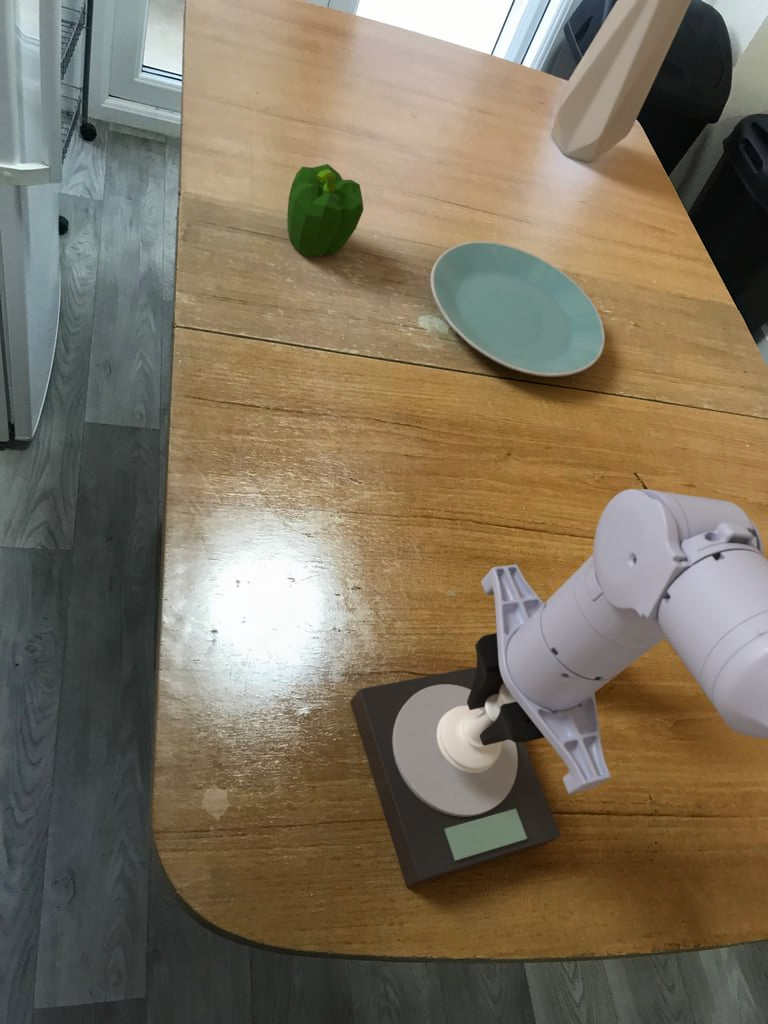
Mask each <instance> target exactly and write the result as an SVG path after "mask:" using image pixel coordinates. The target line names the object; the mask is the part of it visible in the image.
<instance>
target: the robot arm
mask: <svg viewBox="0 0 768 1024" xmlns="http://www.w3.org/2000/svg"><path fill="white" fill-rule="evenodd" d="M592 549H593V550H592V551H593V552H592V554H591V555H590V556H589V557H588V558H587V559H586V560H585V561H584V562H583V563H582V564H581V565H580V567H578V569H576V571H574V573H573V574H572V575H570V577H569V578H567V580H566V581H565V582H563V584H562V585H561V586H560V587H559V588H558V589H557V590H556V591H555V592H553V594H552V595H551V596H550V597H549V598H548V599H547V600H545V603H544V602H543V600H542V599H541V598H540V596H539V595H538V594H537V593H536V592H535V590H534V589H533V588H532V587H531V585H530V584H529V583H528V581H527V580H526V578H525V577H524V575H523V573H522V571H521V570H520V568H519V565H518V564H509V565H501V566H493V567H492V568H491V569H490V570H489V571H488V572H487V573H486V574H485V576H484V577H483V579H482V580H481V582H480V583H481V586H482V588H483V591H484V593H485V594H486V595H487V596H492V595H493V597H494V610H495V611H494V612H495V625H496V627H495V629H496V633H489V634H485V635H483V636H481V637H480V638H479V639H478V640H477V642H476V643H475V645H474V647H475V653H476V667H477V668H476V675H475V679H474V683H473V686H472V689H471V692H470V694H469V697H468V700H467V704H468V707H469V710H473V709H478V708H482V707H485V702H486V700H487V698H488V697H489V696H491V695H494V694H499V691H500V688H501V686H502V684H503V683H505V685H506V687H507V689H508V690H509V692H510V693H511V695H512V696H513V697H514V698H515V700H516V701H517V702H512V703H507V704H503V705H502V706H501V707H500V713H499V715H498V717H497V719H496V720H495V721H494V723H493V724H492V725H490V726H489V727H488V728H486V729H485V730H484V731H483V732H482V733H481V734H480V739H481V742H482V744H483V745H484V746H485V745H489V744H493V743H498V742H502V741H506V740H511V741H513V742H524V743H529V742H532V741H537V740H541V739H544V738H545V739H546V741H547V742H548V743H549V744H550V746H551V747H552V748H553V750H554V751H555V752H556V753H557V755H558V757H560V758H561V760H562V761H563V762H564V764H565V766H566V768H567V770H568V773H567V774H566V775H564V776H563V778H562V781H563V783H564V786H565V789H566V791H567V793H568V795H572V794H577V793H581V792H584V791H587V790H588V791H589V790H591V789H594V788H597V787H598V786H600V785H601V784H603V783H605V782H607V781H608V780H610V779H611V778H612V776H611V773H610V771H609V768H608V765H607V762H606V758H605V755H604V750H603V745H602V738H601V730H600V723H599V715H598V708H597V701H596V692H597V691H598V690H600V689H601V688H602V687H604V686H605V685H606V684H608V683H609V682H610V681H611V680H613V679H614V678H615V677H616V676H619V674H620V673H622V672H623V671H625V670H626V669H627V668H628V667H629V666H631V665H632V664H633V663H635V662H636V661H638V660H639V659H640V658H641V657H642V656H644V655H645V654H647V653H648V652H650V651H651V649H652V650H653V648H654V647H656V646H657V645H658V644H659V643H661V642H662V641H663V640H665V639H666V640H667V642H668V643H669V645H670V646H671V648H672V649H673V650H674V652H675V653H676V655H677V656H678V658H679V659H680V660H681V662H682V663H683V665H684V667H685V668H686V669H687V670H688V672H689V674H690V675H691V677H692V678H693V679H694V681H695V682H696V683H697V685H698V686H699V688H700V689H701V691H702V692H703V693H704V695H705V696H706V697H707V699H708V700H709V702H710V703H711V705H712V706H713V708H714V709H715V710H716V711H717V714H718V715H719V716H720V718H721V719H722V721H723V722H724V724H725V725H726V726H727V728H729V729H730V730H732V731H733V732H735V733H737V734H739V735H741V736H744V737H748V738H749V737H750V738H753V739H760V740H761V739H762V740H768V559H767V558H766V556H765V554H764V553H765V552H764V544H763V540H762V536H761V534H760V531H759V529H758V527H757V526H756V524H755V523H754V522H753V520H751V519H750V517H749V516H748V514H747V513H746V512H745V510H744V509H742V508H741V506H739V505H738V504H735V503H734V502H732V501H729V500H723V499H715V498H709V497H703V496H696V495H690V494H684V493H683V494H682V493H676V492H668V491H662V490H655V489H647V488H645V489H636V488H629V489H625V490H622V491H620V492H619V493H617V494H616V495H615V496H613V497H612V498H611V500H610V501H608V503H607V504H606V506H605V507H604V509H603V511H602V513H601V515H600V517H599V520H598V522H597V526H596V529H595V533H594V539H593V546H592Z"/></svg>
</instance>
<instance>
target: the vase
mask: <svg viewBox="0 0 768 1024" xmlns="http://www.w3.org/2000/svg"><path fill="white" fill-rule="evenodd" d="M691 2H692V0H617V1H616V2H615V3H614V5H613V6H612V9H611V10H610V12H609V13H608V15H607V17H606V18H605V20H604V21H603V23H602V25H601V26H600V28H599V29H598V31H597V32H596V34H595V36H594V38H593V40H592V41H591V43H590V45H589V46H588V48H587V50H586V51H585V53H584V54H583V56H582V58H581V59H580V61H579V62H578V64H577V65H576V67H575V69H574V70H573V73H572V74H571V76H570V77H569V79H568V81H567V82H566V84H565V86H564V88H563V90H562V92H561V96H560V99H559V102H558V107H557V110H556V112H555V118H554V121H553V126H552V130H551V133H550V137H551V139H552V140H553V142H554V144H555V145H556V146H557V148H558V150H560V152H561V153H562V154H563V155H564V156H565V157H569V158H573V159H575V160H578V161H582V162H585V163H589V164H590V163H593V162H595V161H596V160H598V159H599V158H600V157H601V156H603V155H604V154H606V152H607V153H608V151H609V150H611V149H612V148H614V147H615V146H616V145H617V144H619V143H620V142H621V141H623V140H624V139H626V138H627V136H628V135H629V134H630V133H631V131H632V129H633V126H634V125H635V124H636V123H635V122H636V120H637V119H638V116H639V114H640V112H641V109H642V108H643V106H644V104H645V101H646V99H647V97H648V95H649V93H650V91H651V88H652V86H653V84H654V82H655V79H656V78H657V76H658V74H659V71H660V69H661V67H662V65H663V63H664V61H665V59H666V56H667V54H668V52H669V49H670V48H671V46H672V44H673V42H674V39H675V37H676V34H677V33H678V30H679V28H680V26H681V24H682V22H683V19H684V17H685V15H686V13H687V10H688V9H689V7H690V4H691Z"/></svg>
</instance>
